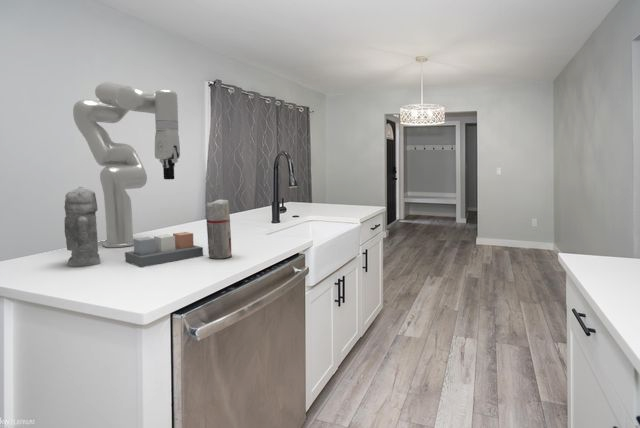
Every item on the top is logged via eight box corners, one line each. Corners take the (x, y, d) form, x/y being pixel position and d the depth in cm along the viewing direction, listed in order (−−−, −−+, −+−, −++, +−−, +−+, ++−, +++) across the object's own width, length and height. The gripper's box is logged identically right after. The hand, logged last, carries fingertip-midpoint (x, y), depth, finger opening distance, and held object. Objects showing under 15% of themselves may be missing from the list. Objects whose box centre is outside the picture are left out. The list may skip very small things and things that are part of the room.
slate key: (134, 256, 139) (133, 238, 139) (149, 254, 143) (148, 236, 142) (141, 259, 136) (140, 240, 135) (156, 256, 140) (155, 238, 139)
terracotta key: (173, 250, 150) (172, 233, 149) (186, 248, 153) (185, 231, 153) (180, 252, 146) (180, 235, 146) (193, 250, 150) (193, 233, 149)
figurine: (100, 256, 147) (95, 185, 144) (101, 265, 135) (96, 187, 132) (67, 260, 142) (62, 186, 140) (66, 269, 130) (60, 188, 127)
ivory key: (154, 253, 144) (153, 236, 144) (168, 251, 148) (167, 234, 147) (161, 255, 141) (161, 237, 140) (175, 253, 145) (174, 236, 144)
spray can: (226, 260, 142) (224, 201, 140) (203, 258, 144) (201, 200, 141) (236, 254, 150) (234, 198, 148) (214, 253, 152) (212, 198, 150)
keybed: (125, 261, 141) (124, 252, 140) (185, 250, 157) (184, 243, 157) (142, 266, 133) (141, 257, 132) (203, 255, 149) (202, 247, 149)
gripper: (146, 127, 150) (148, 178, 152) (167, 124, 140) (169, 180, 142) (166, 128, 155) (168, 178, 158) (188, 126, 145) (189, 179, 148)
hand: (169, 179), depth 150 cm, fingers closed
